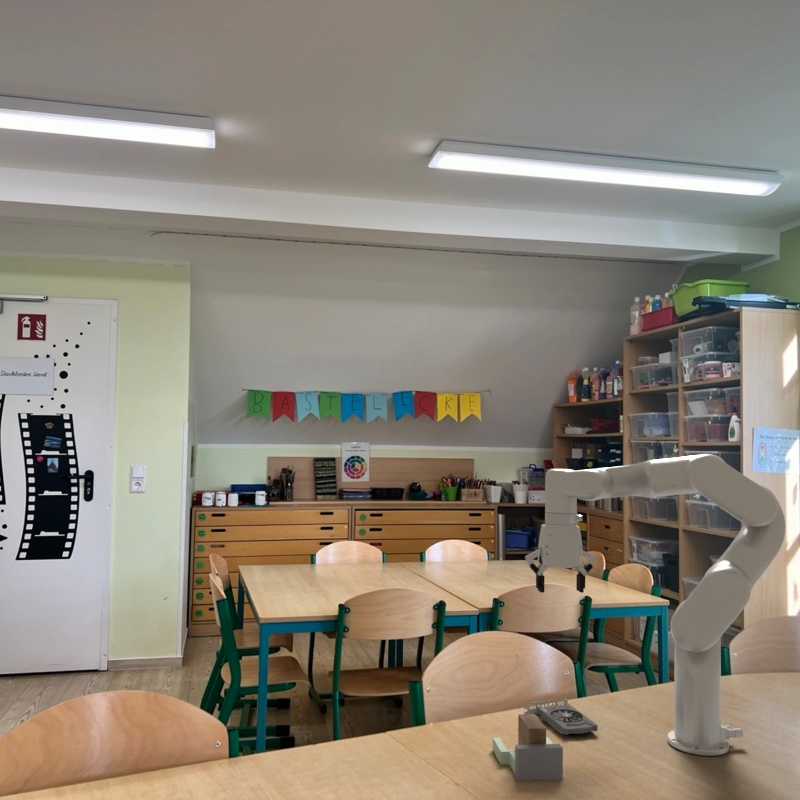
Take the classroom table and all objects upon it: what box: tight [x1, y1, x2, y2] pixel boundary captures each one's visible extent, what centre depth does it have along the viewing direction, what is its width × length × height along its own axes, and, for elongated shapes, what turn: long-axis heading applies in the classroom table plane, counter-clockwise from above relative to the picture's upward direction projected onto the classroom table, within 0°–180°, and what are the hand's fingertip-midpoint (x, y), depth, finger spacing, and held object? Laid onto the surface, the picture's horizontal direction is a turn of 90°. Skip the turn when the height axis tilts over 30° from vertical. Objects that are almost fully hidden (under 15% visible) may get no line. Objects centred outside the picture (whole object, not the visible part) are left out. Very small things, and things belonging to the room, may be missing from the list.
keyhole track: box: [492, 736, 564, 782], centre depth 152 cm, size 12×15×6 cm
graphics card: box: [523, 698, 599, 736], centre depth 174 cm, size 17×4×12 cm
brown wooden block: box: [517, 713, 547, 745], centre depth 151 cm, size 4×8×9 cm, turn 6°
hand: (560, 591), depth 179 cm, fingers open, 9 cm apart
